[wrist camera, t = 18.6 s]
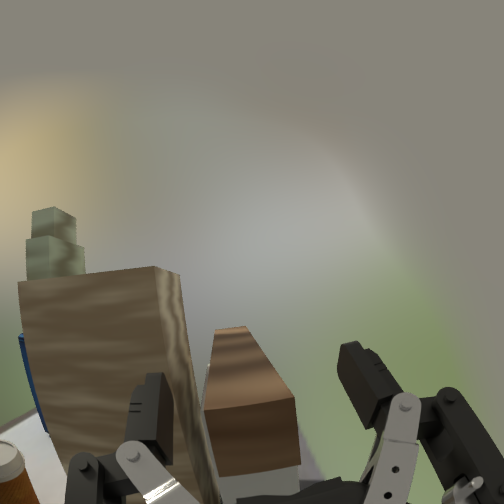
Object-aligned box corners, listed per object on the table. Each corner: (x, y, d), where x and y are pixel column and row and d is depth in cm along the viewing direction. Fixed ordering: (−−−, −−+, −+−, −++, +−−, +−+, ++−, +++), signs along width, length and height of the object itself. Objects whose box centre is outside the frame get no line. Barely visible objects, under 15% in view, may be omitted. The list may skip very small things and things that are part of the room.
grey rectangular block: (304, 544, 18) (290, 398, 20) (240, 555, 17) (199, 411, 20) (279, 478, 33) (263, 356, 35) (232, 485, 32) (207, 363, 34)
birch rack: (221, 551, 18) (148, 180, 22) (106, 543, 16) (17, 207, 21) (219, 487, 32) (174, 219, 36) (130, 487, 30) (77, 233, 34)
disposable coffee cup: (11, 544, 8) (-38, 472, 9) (-2, 507, 14) (-38, 440, 15) (66, 532, 16) (26, 464, 17) (46, 498, 21) (15, 434, 23)
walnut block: (301, 464, 11) (294, 396, 12) (219, 477, 11) (203, 410, 11) (249, 355, 37) (245, 325, 37) (219, 359, 36) (215, 329, 37)
